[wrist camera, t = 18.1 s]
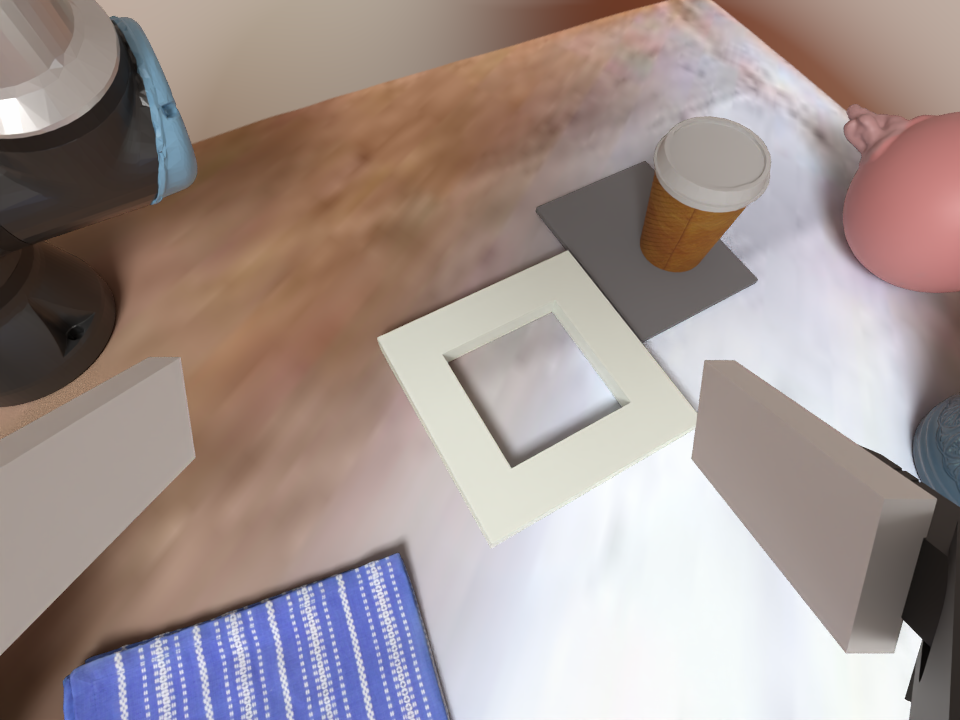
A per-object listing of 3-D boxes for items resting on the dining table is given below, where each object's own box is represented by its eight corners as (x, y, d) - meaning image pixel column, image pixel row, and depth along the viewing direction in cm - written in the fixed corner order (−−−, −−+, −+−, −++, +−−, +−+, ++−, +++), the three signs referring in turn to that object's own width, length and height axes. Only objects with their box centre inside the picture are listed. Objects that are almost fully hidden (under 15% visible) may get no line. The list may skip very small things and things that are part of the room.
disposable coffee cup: (666, 196, 61) (708, 97, 50) (739, 252, 57) (801, 158, 47) (603, 242, 58) (634, 146, 47) (676, 303, 54) (727, 215, 44)
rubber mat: (535, 211, 60) (536, 207, 60) (643, 165, 63) (645, 160, 63) (640, 343, 53) (641, 340, 52) (755, 283, 56) (758, 279, 56)
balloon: (853, 155, 65) (956, 20, 51) (1004, 285, 57) (1173, 165, 43) (748, 204, 61) (829, 72, 48) (894, 350, 53) (1040, 242, 40)
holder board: (380, 348, 52) (377, 337, 50) (564, 262, 57) (568, 250, 55) (490, 548, 44) (491, 544, 42) (694, 429, 49) (703, 420, 47)
